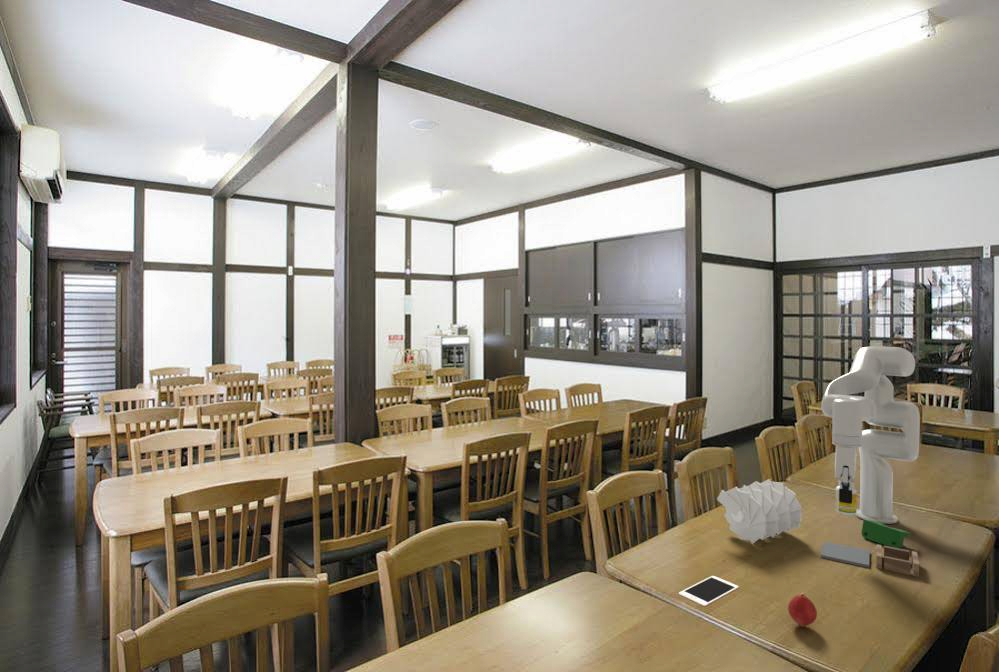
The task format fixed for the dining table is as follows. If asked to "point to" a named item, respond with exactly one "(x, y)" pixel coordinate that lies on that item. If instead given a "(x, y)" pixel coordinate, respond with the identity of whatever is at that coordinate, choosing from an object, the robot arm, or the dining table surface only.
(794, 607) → the onion
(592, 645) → the dining table surface
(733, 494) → the white origami shape
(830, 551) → the rubber mat
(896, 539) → the clamp
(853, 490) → the supplement bottle
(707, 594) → the cell phone
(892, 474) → the robot arm
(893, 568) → the frame
